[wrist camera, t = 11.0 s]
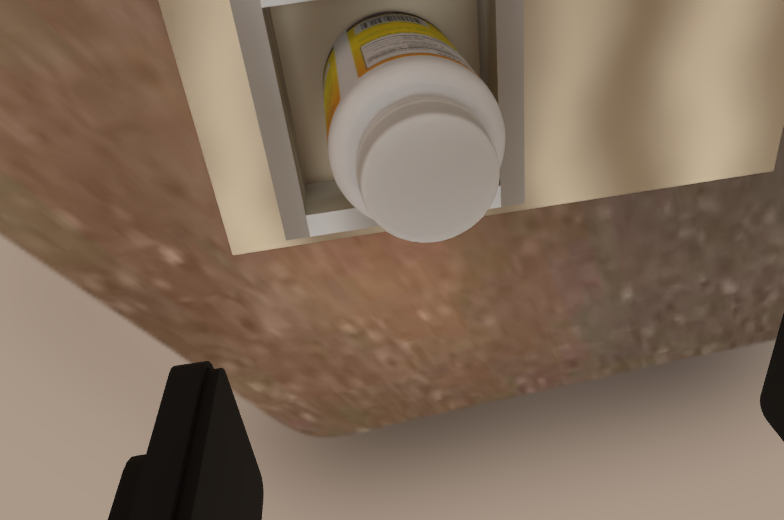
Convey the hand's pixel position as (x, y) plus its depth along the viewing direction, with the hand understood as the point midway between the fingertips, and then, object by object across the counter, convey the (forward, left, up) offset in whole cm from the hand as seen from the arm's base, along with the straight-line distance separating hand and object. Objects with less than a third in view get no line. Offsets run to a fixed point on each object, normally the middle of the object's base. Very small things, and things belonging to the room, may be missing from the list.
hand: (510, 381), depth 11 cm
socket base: (-5, 0, -20) cm, 20 cm away
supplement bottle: (0, 0, -19) cm, 19 cm away
